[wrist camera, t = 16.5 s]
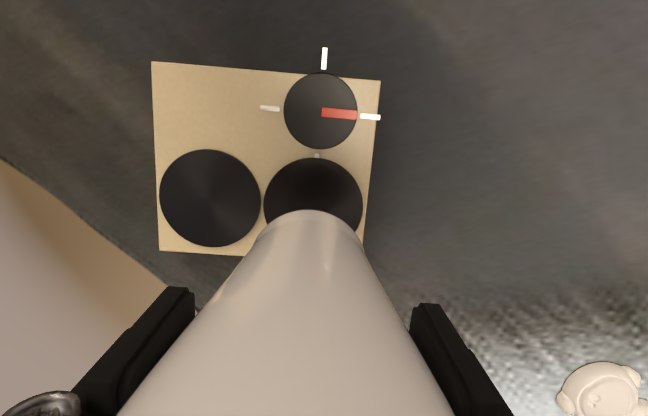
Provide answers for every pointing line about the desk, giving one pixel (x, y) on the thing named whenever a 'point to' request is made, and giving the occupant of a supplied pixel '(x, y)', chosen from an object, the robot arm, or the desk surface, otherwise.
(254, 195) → the burner
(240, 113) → the hot plate
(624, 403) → the astronaut figurine
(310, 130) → the hob knob
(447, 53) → the desk surface
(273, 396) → the drinking glass
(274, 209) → the burner
